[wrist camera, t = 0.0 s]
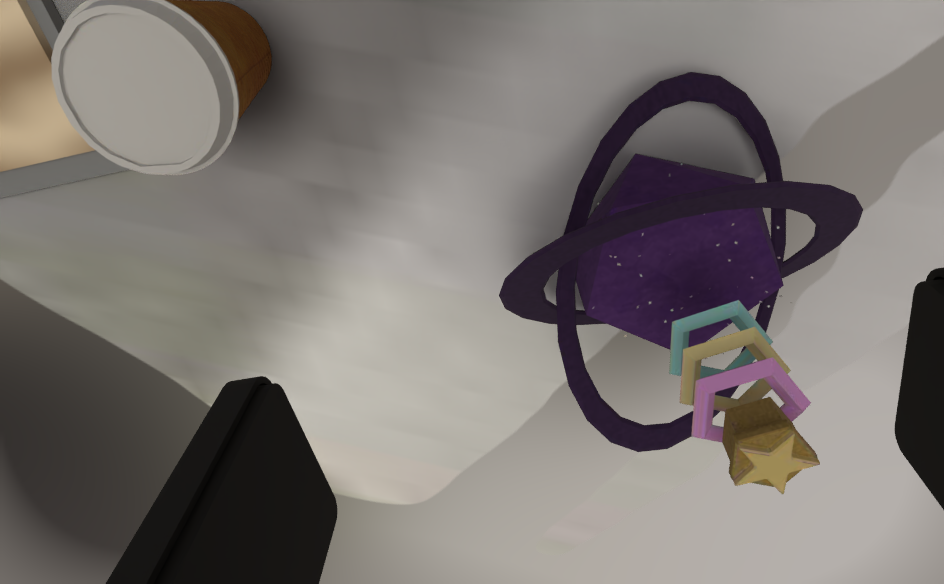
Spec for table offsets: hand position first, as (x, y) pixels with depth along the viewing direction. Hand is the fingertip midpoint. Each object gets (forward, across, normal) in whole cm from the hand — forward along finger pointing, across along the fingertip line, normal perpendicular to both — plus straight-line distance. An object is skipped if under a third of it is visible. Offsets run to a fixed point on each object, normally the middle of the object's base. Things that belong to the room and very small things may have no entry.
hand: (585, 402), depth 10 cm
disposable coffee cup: (+37, +20, -3) cm, 42 cm away
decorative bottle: (+37, -7, +15) cm, 41 cm away
